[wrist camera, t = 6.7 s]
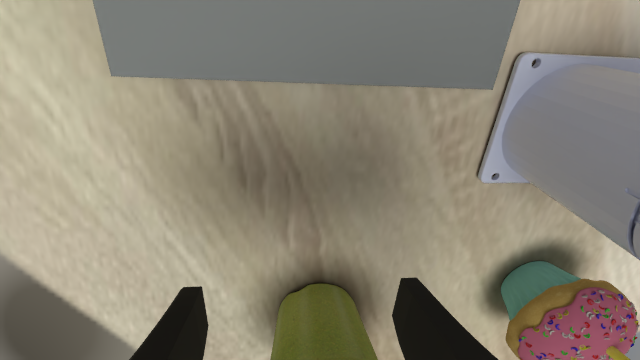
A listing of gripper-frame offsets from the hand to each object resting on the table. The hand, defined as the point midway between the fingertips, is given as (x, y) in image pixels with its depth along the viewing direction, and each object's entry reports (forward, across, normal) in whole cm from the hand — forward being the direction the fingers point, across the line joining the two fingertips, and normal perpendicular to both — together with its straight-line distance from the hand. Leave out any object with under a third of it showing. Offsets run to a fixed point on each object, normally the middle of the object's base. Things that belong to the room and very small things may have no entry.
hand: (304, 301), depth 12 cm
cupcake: (+10, -20, +10) cm, 24 cm away
